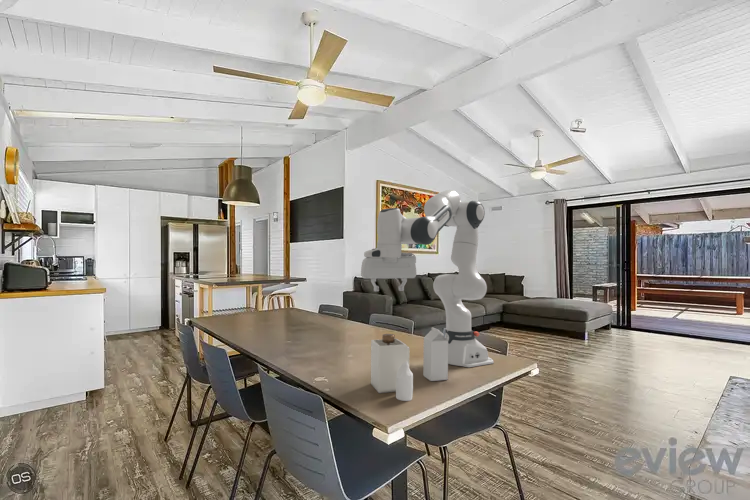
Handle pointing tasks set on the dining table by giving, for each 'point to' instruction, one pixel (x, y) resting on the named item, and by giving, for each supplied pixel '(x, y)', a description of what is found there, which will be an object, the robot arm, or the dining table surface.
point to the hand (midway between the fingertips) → (388, 291)
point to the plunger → (388, 338)
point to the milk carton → (435, 356)
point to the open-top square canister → (387, 364)
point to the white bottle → (404, 383)
